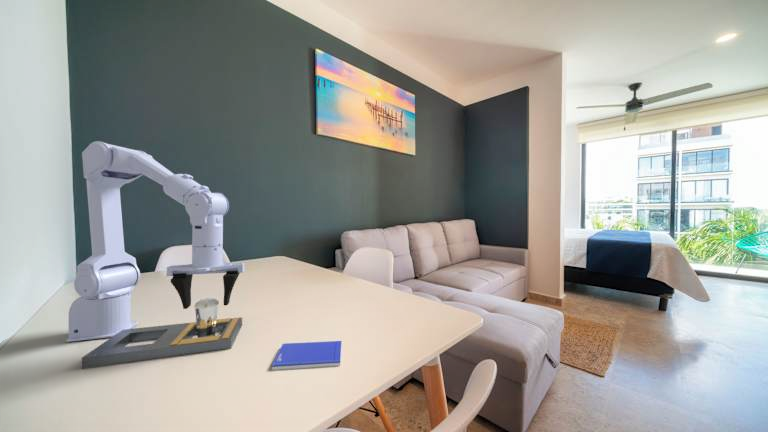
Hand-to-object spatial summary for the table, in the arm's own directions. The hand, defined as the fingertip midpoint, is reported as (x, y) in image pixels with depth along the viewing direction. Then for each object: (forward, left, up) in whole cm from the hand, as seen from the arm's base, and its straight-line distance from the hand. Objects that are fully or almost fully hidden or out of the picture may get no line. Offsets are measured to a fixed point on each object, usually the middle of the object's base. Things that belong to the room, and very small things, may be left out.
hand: (207, 305), depth 59 cm
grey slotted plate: (-6, 0, -8) cm, 10 cm away
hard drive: (+22, -14, -8) cm, 27 cm away
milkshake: (0, 0, -8) cm, 8 cm away
